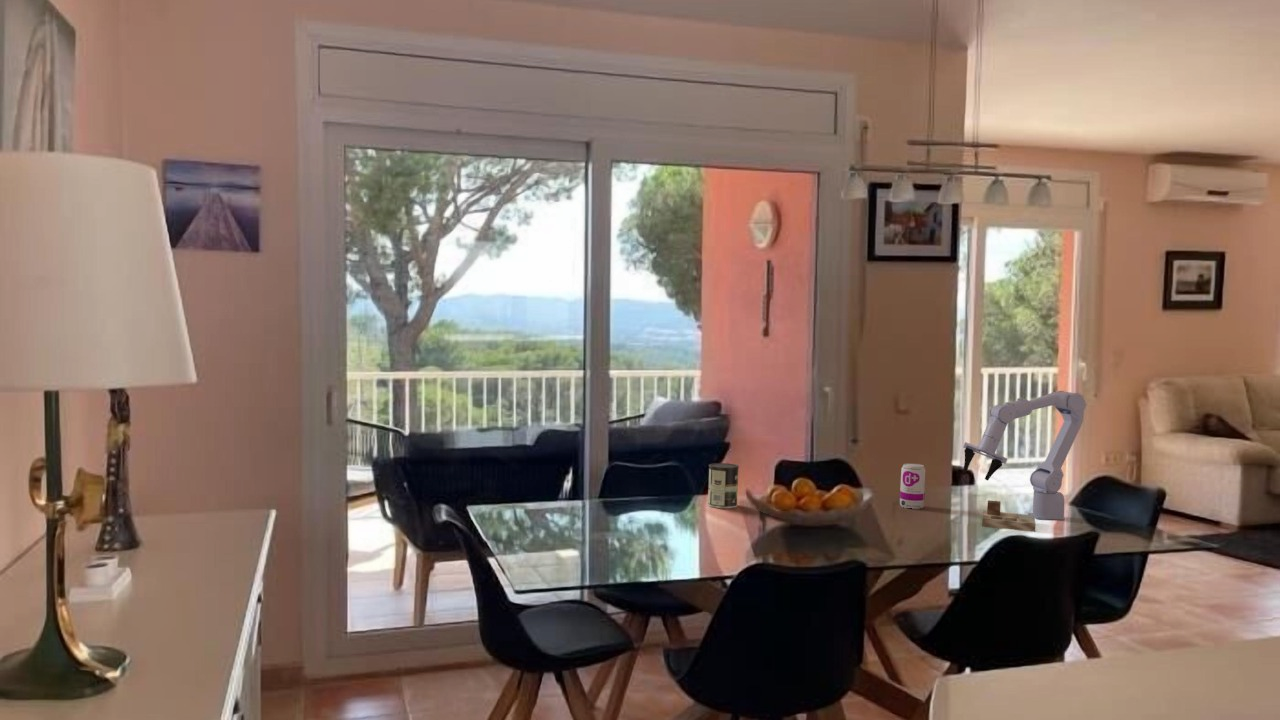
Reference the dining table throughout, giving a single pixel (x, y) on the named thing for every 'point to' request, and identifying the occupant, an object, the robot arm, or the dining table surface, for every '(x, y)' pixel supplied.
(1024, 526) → the wooden board
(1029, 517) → the pad
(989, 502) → the walnut block
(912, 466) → the supplement can
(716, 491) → the coffee can
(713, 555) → the dining table surface
